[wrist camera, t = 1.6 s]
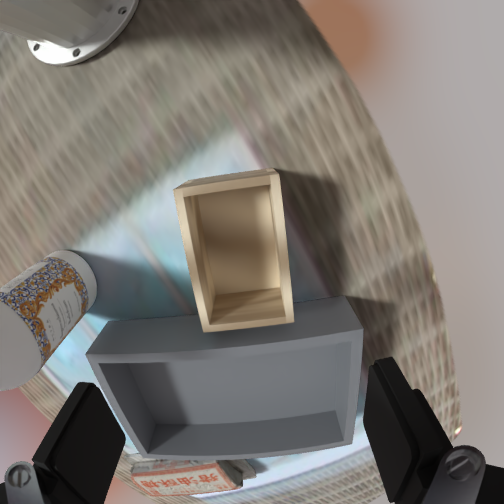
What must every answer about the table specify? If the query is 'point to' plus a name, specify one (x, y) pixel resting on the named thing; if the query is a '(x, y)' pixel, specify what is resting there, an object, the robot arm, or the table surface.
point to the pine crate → (236, 249)
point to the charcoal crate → (234, 383)
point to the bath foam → (41, 313)
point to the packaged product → (188, 475)
